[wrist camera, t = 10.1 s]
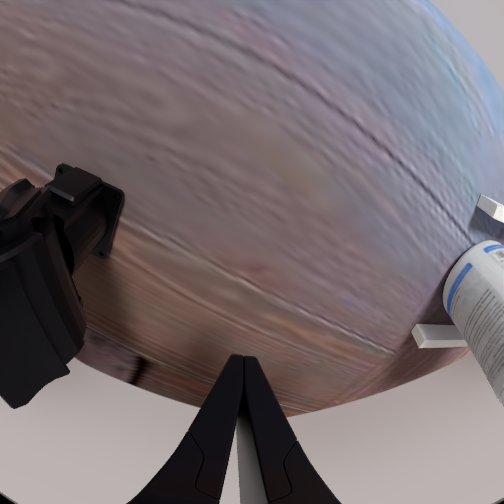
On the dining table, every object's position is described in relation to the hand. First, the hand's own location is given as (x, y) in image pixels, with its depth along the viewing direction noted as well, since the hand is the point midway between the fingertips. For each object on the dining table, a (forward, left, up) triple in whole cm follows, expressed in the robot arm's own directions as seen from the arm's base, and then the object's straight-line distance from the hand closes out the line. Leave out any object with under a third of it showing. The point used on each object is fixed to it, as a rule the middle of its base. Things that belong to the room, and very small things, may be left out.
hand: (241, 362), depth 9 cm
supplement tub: (+6, -24, -13) cm, 28 cm away
